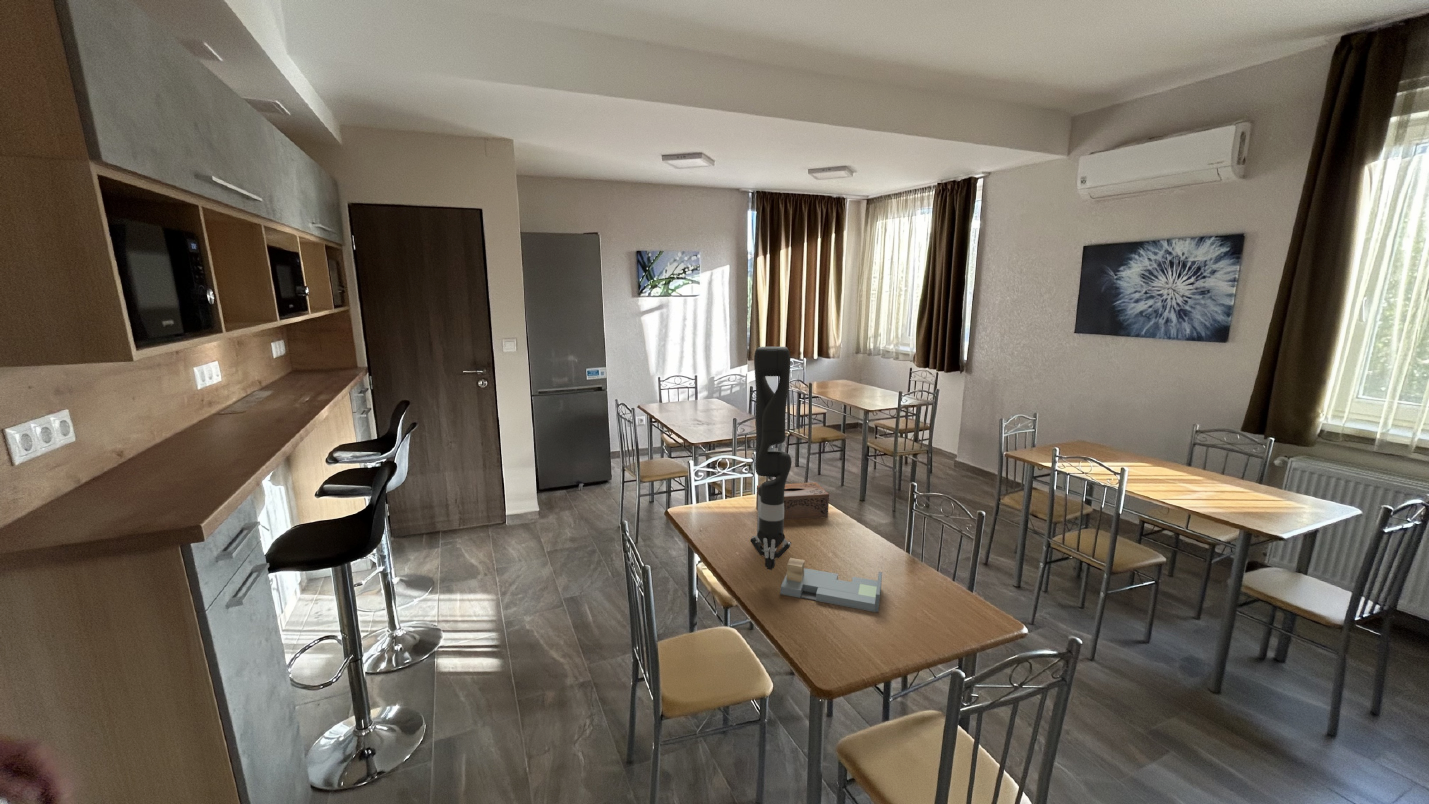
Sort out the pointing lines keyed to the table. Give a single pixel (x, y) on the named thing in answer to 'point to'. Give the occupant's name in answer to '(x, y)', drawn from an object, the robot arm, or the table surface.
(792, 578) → the beech block
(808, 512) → the tissue box cover
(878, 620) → the table surface
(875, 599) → the plate
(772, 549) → the robot arm
